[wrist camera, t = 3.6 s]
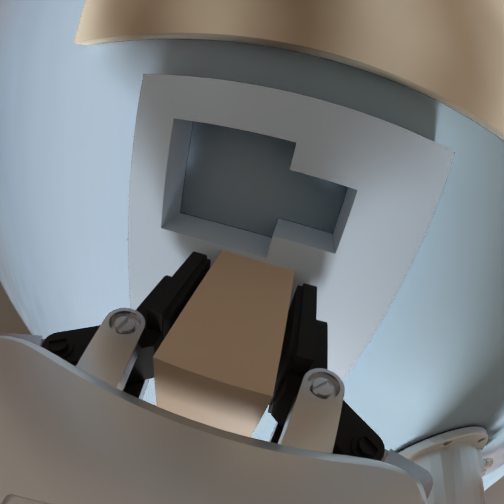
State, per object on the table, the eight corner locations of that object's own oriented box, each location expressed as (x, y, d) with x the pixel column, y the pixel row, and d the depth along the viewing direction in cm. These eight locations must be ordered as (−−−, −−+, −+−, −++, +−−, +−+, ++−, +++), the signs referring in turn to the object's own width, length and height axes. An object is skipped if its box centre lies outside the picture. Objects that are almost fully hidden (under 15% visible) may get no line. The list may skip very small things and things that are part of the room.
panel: (434, 145, 10) (567, 200, 3) (319, 391, 17) (308, 500, 10) (166, 78, 11) (17, 66, 4) (148, 339, 18) (89, 429, 11)
